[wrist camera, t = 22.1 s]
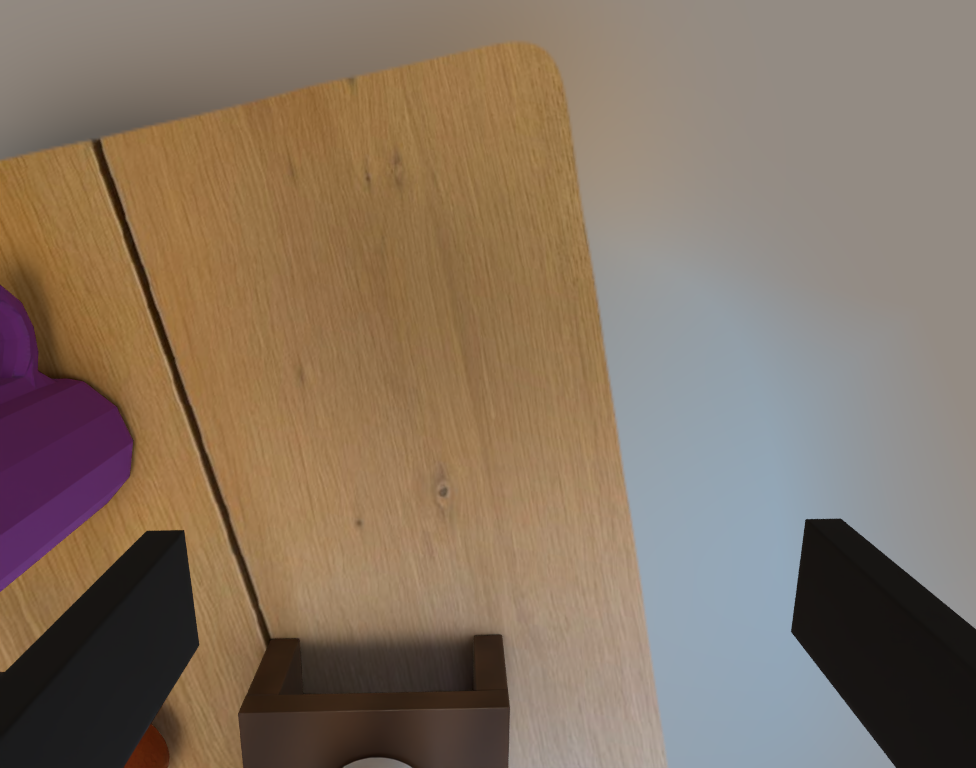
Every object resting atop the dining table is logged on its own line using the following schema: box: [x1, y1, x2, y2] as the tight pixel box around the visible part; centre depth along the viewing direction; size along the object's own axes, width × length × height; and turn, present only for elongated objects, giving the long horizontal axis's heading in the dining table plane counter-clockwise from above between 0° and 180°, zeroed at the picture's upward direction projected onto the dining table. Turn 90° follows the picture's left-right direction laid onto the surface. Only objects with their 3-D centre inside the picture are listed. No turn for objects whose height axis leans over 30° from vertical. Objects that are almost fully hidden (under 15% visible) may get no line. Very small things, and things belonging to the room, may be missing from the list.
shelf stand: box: [238, 635, 510, 768], centre depth 44 cm, size 16×13×7 cm
